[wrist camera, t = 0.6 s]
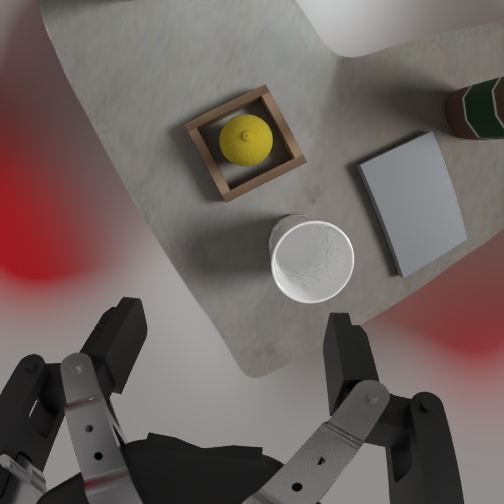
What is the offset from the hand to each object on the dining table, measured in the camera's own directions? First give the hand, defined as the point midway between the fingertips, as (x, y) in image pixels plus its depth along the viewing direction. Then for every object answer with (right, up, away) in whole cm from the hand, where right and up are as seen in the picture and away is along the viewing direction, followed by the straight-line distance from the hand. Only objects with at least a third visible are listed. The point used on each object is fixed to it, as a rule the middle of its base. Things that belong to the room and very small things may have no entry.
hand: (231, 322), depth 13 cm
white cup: (+6, +4, +26) cm, 27 cm away
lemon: (0, +15, +23) cm, 28 cm away
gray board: (+23, +9, +25) cm, 35 cm away
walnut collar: (0, +15, +23) cm, 27 cm away
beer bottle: (+31, +23, +22) cm, 45 cm away
